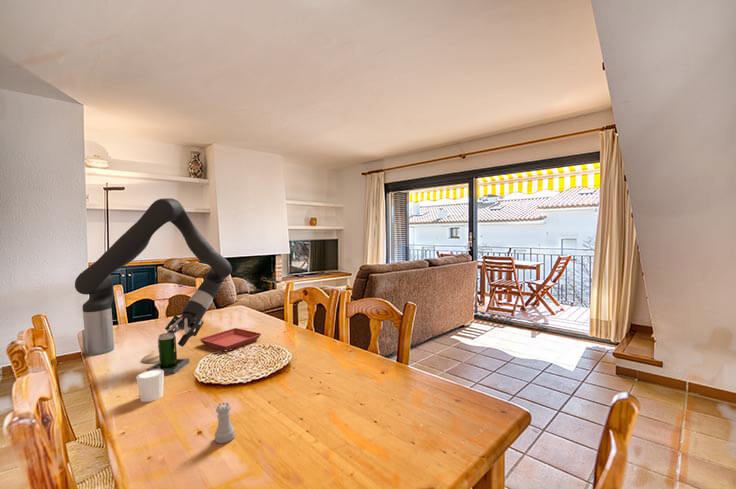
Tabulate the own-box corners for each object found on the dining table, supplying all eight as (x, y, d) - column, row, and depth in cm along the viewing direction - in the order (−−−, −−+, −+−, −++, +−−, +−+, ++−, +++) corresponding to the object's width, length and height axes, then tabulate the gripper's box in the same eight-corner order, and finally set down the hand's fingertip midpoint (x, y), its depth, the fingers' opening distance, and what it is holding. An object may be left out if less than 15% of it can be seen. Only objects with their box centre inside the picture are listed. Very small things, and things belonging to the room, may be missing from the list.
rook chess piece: (218, 433, 83) (216, 400, 83) (237, 432, 84) (236, 399, 83) (211, 445, 79) (209, 410, 78) (232, 443, 79) (230, 409, 79)
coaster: (135, 363, 129) (135, 361, 129) (154, 352, 140) (154, 351, 140) (164, 363, 129) (164, 361, 129) (181, 352, 140) (181, 350, 140)
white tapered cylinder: (170, 393, 105) (169, 370, 104) (149, 404, 98) (148, 380, 98) (153, 390, 107) (152, 367, 107) (131, 401, 101) (130, 377, 100)
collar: (146, 373, 119) (146, 369, 119) (164, 362, 129) (163, 358, 129) (174, 373, 119) (173, 369, 119) (189, 362, 128) (189, 358, 128)
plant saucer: (262, 340, 152) (262, 333, 152) (226, 354, 137) (225, 345, 137) (235, 334, 162) (235, 327, 162) (198, 346, 147) (198, 339, 146)
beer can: (160, 372, 120) (158, 338, 120) (159, 367, 125) (157, 334, 124) (178, 368, 123) (176, 334, 123) (176, 363, 128) (174, 331, 127)
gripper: (178, 298, 135) (151, 336, 126) (204, 300, 129) (178, 341, 120) (191, 309, 140) (166, 346, 131) (217, 311, 134) (193, 351, 125)
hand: (172, 344), depth 125 cm, fingers open, 8 cm apart
